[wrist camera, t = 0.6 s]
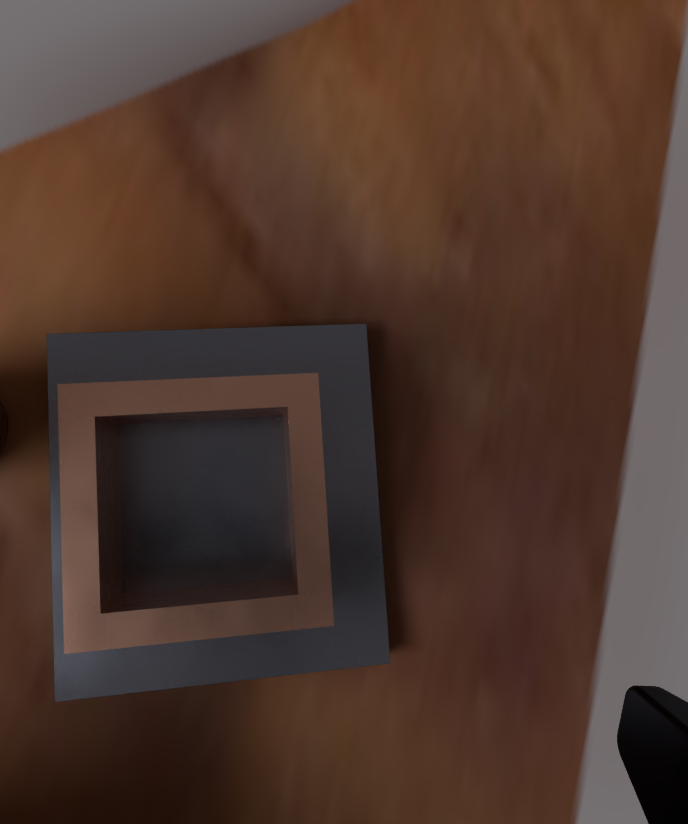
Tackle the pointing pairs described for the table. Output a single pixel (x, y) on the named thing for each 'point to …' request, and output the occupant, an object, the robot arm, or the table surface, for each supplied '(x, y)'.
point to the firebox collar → (212, 507)
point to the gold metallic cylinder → (3, 426)
